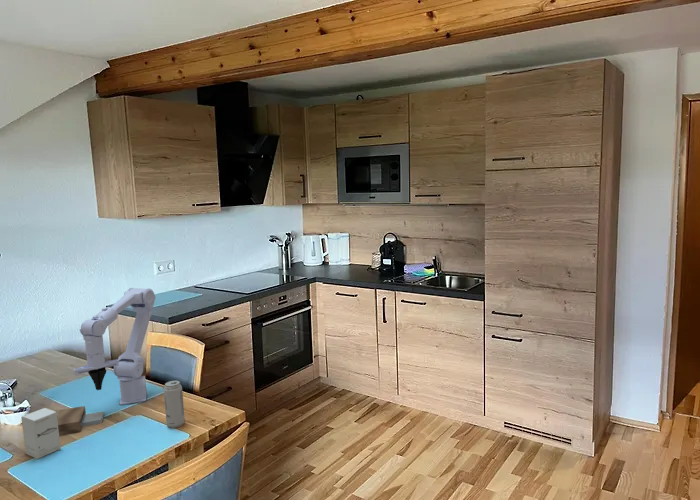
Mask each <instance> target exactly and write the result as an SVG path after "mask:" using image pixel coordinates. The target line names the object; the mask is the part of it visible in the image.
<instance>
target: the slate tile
mask: <svg viewBox="0 0 700 500" xmlns="http://www.w3.org/2000/svg"><path fill="white" fill-rule="evenodd" d="M104 414H105V412H104V411H103V410H102V411H95V412H92V413H86V414H85V415H82V418H81V421H80V425H81V428H84V427H87V426H88V427H89V426H93V425H98V424H102V423H103V419H104V416H105V415H104Z"/></svg>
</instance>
